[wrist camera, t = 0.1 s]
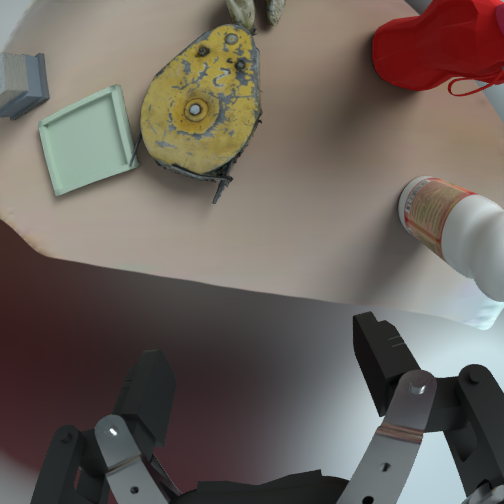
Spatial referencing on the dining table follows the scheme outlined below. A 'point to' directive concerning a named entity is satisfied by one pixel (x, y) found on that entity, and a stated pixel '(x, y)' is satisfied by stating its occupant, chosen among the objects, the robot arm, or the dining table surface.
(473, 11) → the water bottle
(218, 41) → the pulley block
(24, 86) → the gray open box
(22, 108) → the grey peg stand
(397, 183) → the dining table surface
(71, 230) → the dining table surface
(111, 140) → the tray
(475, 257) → the fruit juice
